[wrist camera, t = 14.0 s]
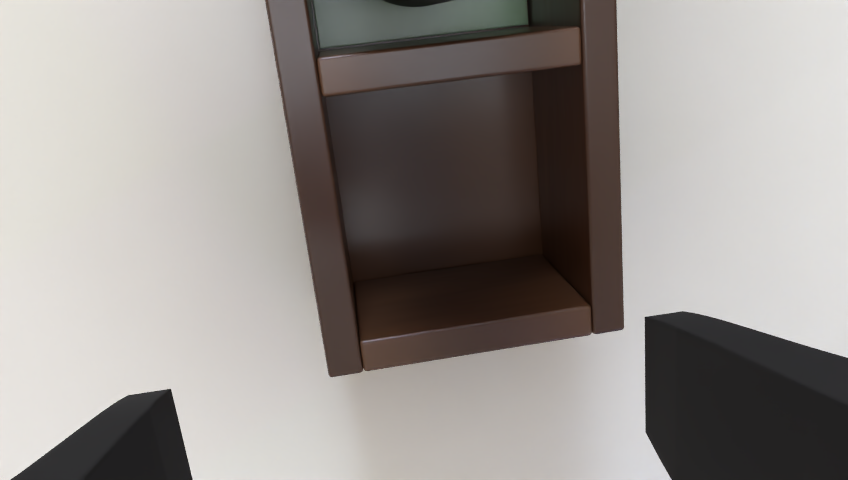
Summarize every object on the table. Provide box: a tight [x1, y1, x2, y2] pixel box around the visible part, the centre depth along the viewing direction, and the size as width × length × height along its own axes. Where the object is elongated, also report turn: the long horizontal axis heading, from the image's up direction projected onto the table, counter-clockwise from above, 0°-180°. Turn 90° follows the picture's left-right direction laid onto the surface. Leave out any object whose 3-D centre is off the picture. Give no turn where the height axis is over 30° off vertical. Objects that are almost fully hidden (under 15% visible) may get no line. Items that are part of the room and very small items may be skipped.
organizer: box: [265, 0, 624, 377], centre depth 16 cm, size 7×13×4 cm, turn 6°
